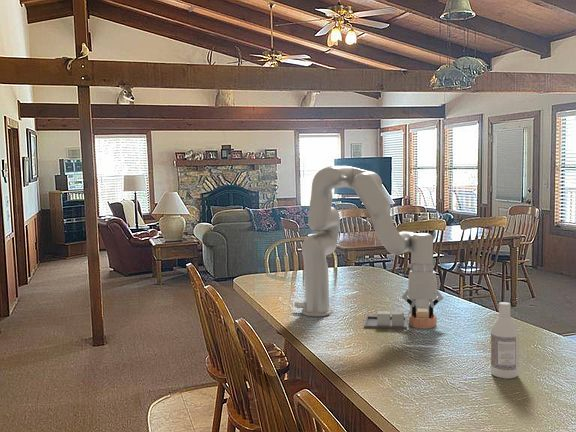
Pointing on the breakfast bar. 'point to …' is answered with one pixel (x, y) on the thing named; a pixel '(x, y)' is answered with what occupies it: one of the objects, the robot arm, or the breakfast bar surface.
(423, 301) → the supplement box
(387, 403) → the breakfast bar surface
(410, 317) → the bowl
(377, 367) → the breakfast bar surface
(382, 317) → the grey cube
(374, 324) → the tray
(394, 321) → the grey cube
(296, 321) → the breakfast bar surface
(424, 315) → the beige rectangular block
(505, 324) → the bath foam
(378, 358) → the breakfast bar surface
